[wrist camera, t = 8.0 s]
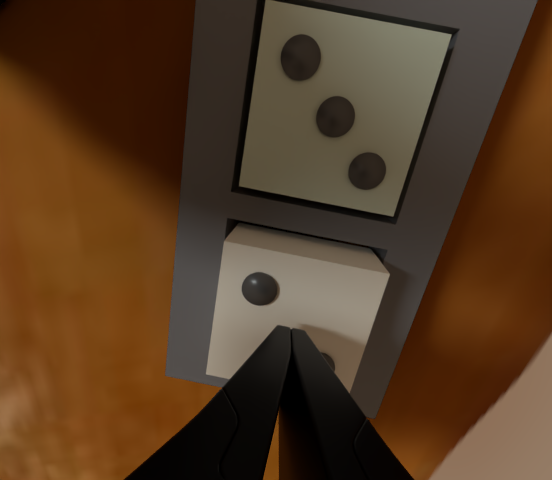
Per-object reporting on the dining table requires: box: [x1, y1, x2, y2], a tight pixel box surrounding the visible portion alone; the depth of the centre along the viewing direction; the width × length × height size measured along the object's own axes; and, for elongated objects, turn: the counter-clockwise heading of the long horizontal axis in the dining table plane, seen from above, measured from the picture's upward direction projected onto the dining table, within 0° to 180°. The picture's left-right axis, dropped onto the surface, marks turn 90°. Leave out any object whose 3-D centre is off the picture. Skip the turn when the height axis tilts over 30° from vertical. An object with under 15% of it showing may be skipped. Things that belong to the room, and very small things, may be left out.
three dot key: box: [239, 0, 452, 217], centre depth 9 cm, size 5×5×2 cm
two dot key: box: [206, 223, 390, 393], centre depth 10 cm, size 5×5×2 cm
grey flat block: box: [165, 0, 538, 419], centre depth 10 cm, size 22×9×2 cm, turn 169°
